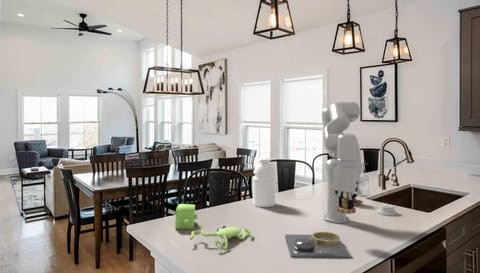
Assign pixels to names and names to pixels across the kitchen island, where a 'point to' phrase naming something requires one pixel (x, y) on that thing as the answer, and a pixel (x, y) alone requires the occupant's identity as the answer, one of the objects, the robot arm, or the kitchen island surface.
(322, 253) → the carrier plate
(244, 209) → the kitchen island surface
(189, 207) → the gearbox
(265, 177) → the bottle
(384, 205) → the mechanical component
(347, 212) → the planet gear
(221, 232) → the figurine
